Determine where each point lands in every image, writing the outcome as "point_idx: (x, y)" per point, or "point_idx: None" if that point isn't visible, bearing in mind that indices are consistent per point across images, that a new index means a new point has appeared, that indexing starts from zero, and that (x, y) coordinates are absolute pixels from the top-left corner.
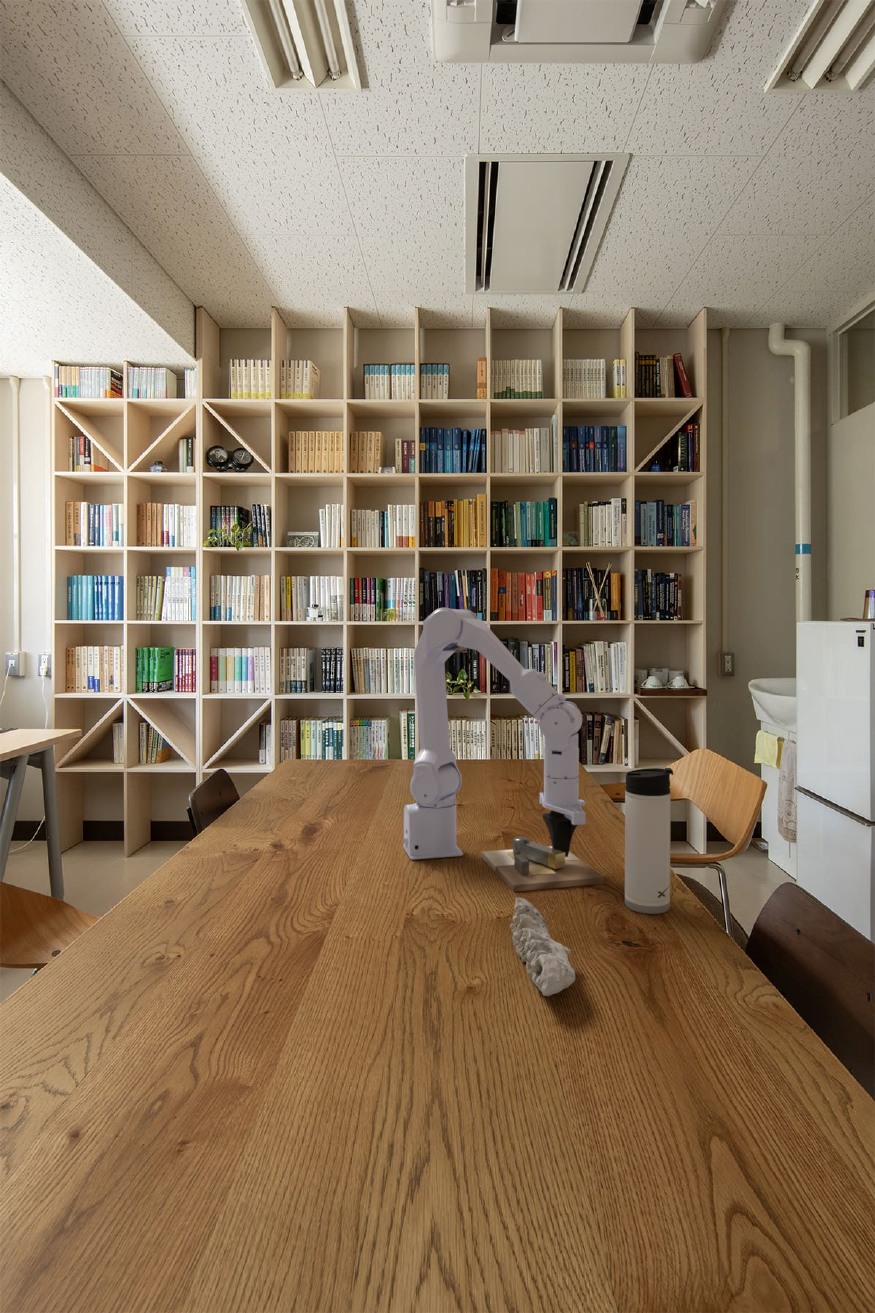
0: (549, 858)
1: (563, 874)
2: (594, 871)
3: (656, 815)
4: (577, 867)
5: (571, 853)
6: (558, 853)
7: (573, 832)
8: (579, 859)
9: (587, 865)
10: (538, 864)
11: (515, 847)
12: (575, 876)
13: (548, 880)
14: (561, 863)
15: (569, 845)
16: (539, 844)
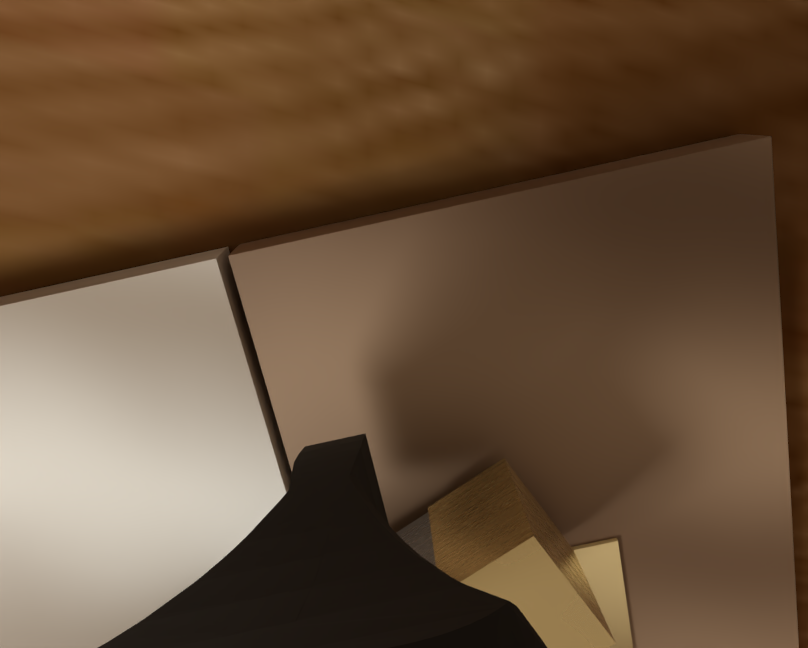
0: None
1: (646, 484)
2: (598, 191)
3: None
4: (473, 332)
5: (17, 305)
6: (578, 610)
7: (406, 546)
8: (215, 261)
9: (415, 221)
10: None
11: None
12: (708, 395)
13: (765, 611)
14: (538, 513)
15: (356, 476)
16: None
